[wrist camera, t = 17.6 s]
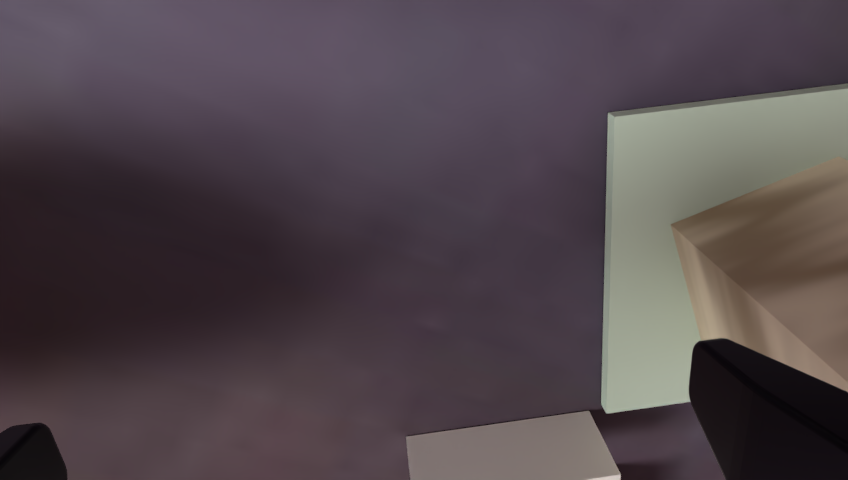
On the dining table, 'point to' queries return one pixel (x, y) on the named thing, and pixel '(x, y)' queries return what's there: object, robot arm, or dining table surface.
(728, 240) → the block
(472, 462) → the channel
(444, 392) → the dining table surface
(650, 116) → the mat
